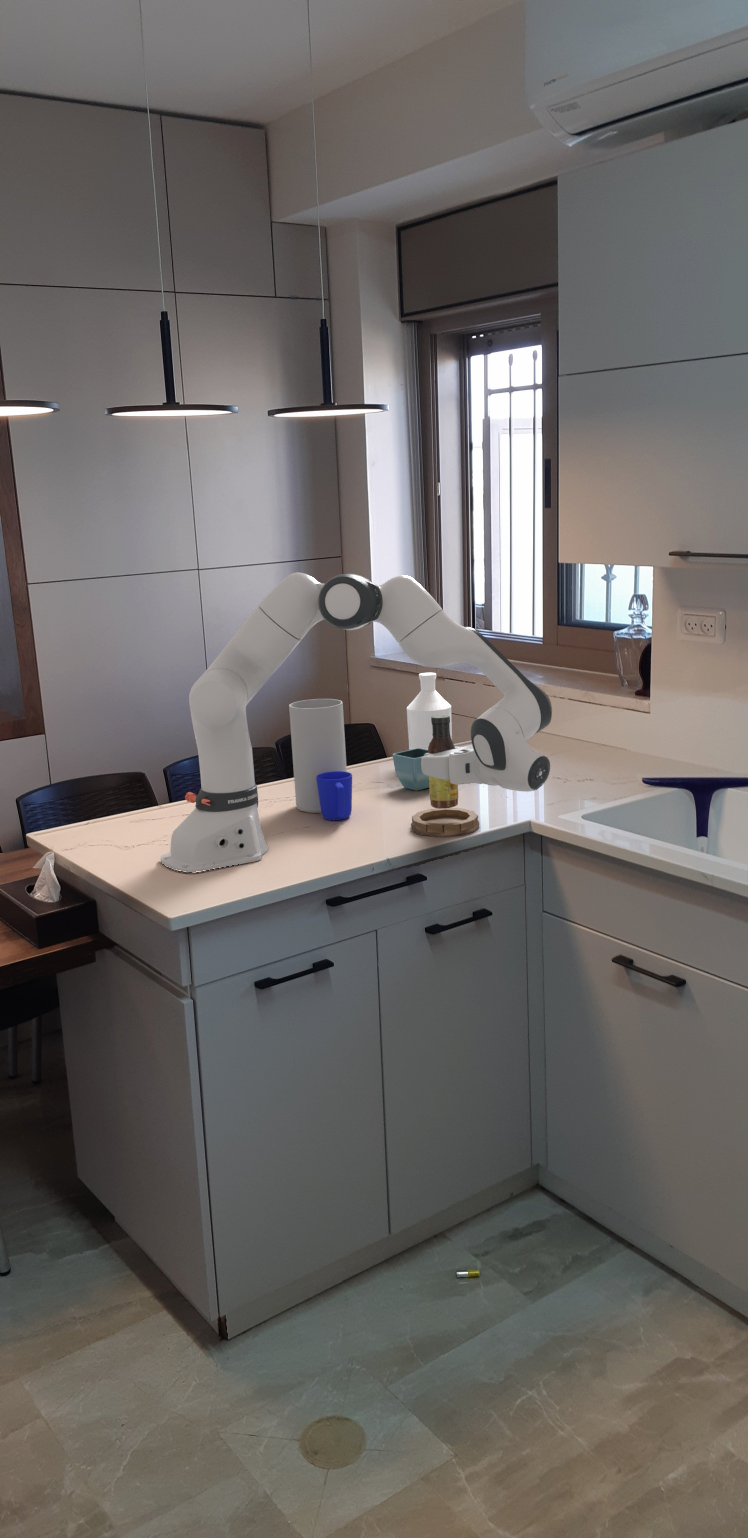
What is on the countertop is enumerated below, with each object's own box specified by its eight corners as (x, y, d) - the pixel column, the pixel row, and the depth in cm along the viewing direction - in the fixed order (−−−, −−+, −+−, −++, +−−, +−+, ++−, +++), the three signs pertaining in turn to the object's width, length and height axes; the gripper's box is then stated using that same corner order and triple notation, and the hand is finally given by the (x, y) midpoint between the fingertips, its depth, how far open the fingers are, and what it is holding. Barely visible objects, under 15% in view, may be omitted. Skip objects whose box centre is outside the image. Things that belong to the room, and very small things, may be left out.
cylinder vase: (359, 804, 276) (353, 701, 271) (322, 816, 267) (315, 710, 262) (322, 797, 285) (315, 697, 279) (285, 809, 276) (277, 705, 270)
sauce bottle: (457, 809, 249) (453, 719, 245) (428, 809, 250) (423, 719, 246) (460, 801, 255) (456, 713, 251) (432, 801, 257) (428, 713, 252)
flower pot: (392, 788, 290) (391, 753, 288) (419, 781, 295) (418, 747, 293) (415, 794, 283) (413, 758, 281) (442, 787, 288) (441, 752, 286)
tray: (442, 841, 244) (442, 830, 243) (397, 827, 255) (396, 817, 255) (493, 825, 253) (493, 815, 252) (447, 813, 264) (446, 803, 264)
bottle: (405, 763, 316) (401, 672, 311) (447, 759, 318) (444, 669, 312) (414, 772, 305) (410, 678, 299) (458, 768, 307) (454, 675, 301)
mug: (325, 828, 258) (322, 785, 255) (316, 814, 269) (313, 773, 267) (361, 824, 259) (358, 781, 257) (351, 811, 271) (348, 769, 269)
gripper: (519, 739, 246) (473, 731, 256) (448, 756, 234) (403, 747, 244) (519, 767, 247) (474, 759, 258) (449, 786, 235) (405, 776, 246)
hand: (439, 753), depth 251 cm, fingers closed on sauce bottle, 6 cm apart
